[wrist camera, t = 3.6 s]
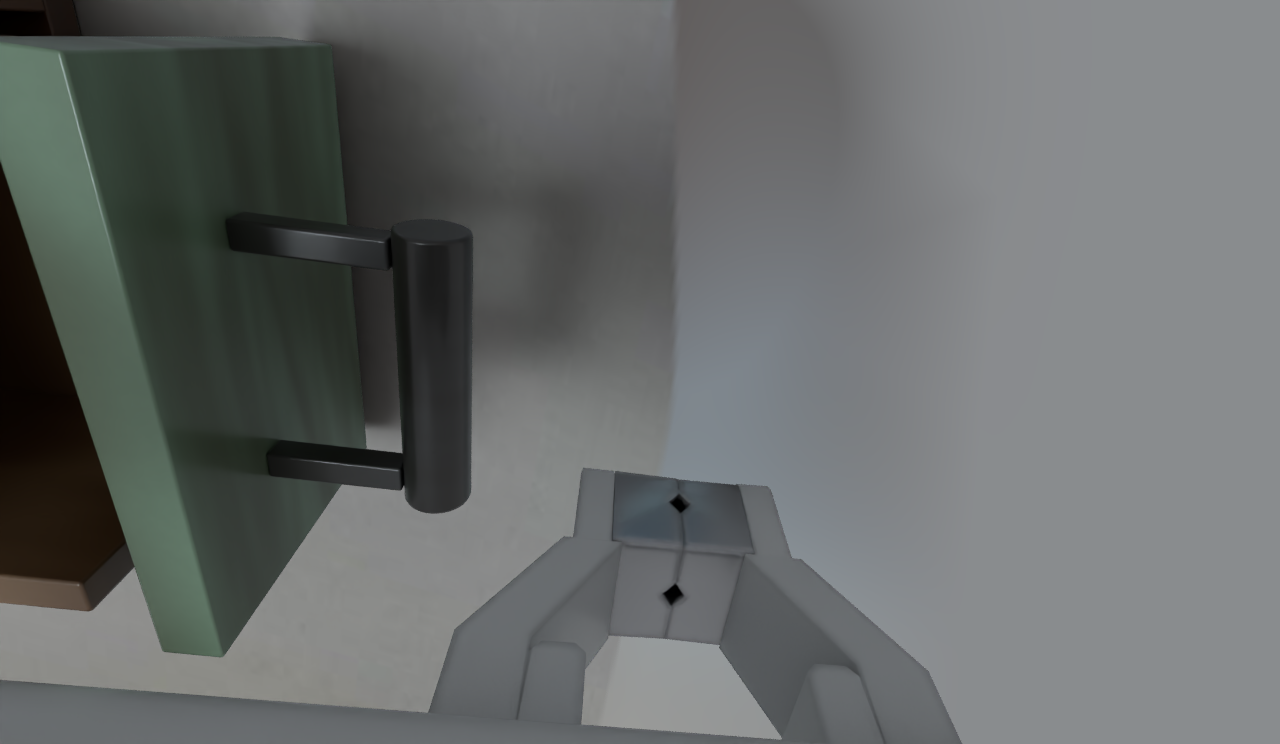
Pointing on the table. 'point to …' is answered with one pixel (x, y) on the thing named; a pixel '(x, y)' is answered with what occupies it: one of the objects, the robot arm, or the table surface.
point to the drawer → (199, 326)
